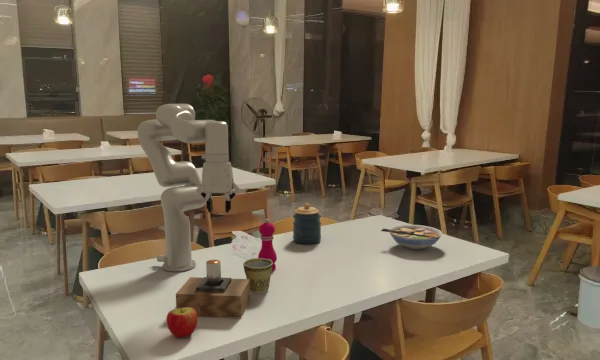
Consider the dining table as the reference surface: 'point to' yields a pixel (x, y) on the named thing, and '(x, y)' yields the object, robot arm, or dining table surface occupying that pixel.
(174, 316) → the apple
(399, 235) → the ramen bowl
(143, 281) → the dining table surface
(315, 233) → the canister
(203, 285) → the socket block
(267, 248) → the pepper mill
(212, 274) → the peg
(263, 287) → the ceramic cup
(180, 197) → the robot arm
